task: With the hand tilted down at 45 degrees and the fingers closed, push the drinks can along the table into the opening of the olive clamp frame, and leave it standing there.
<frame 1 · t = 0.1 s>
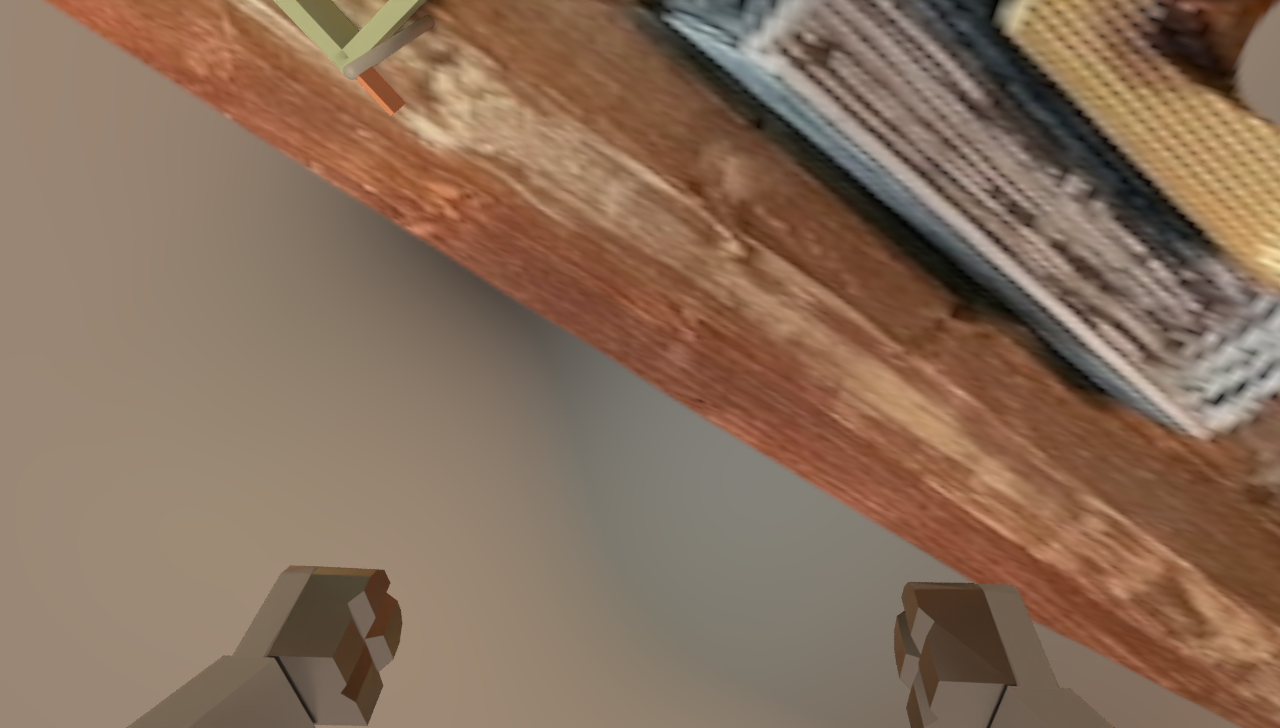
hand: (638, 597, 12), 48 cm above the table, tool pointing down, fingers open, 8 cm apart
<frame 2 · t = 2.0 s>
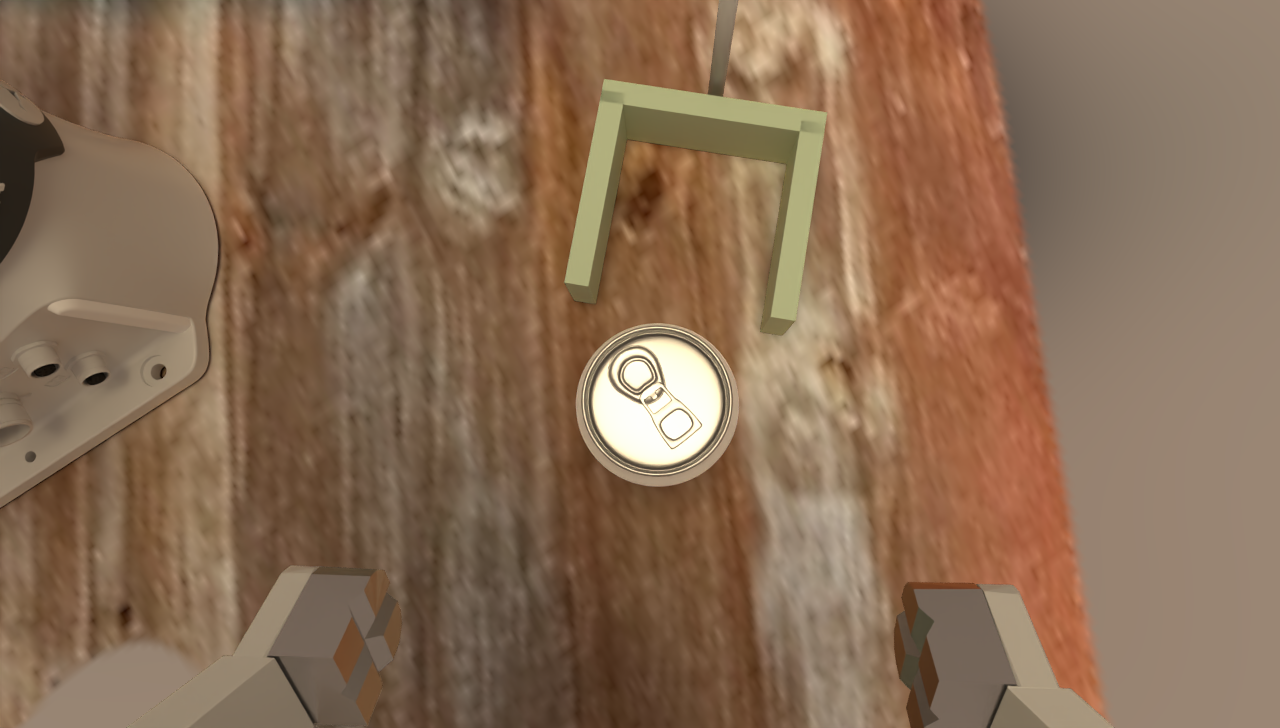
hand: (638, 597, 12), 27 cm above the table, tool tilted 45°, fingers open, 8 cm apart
olive clamp frame: (694, 219, 40), on the table
can: (658, 420, 39), on the table
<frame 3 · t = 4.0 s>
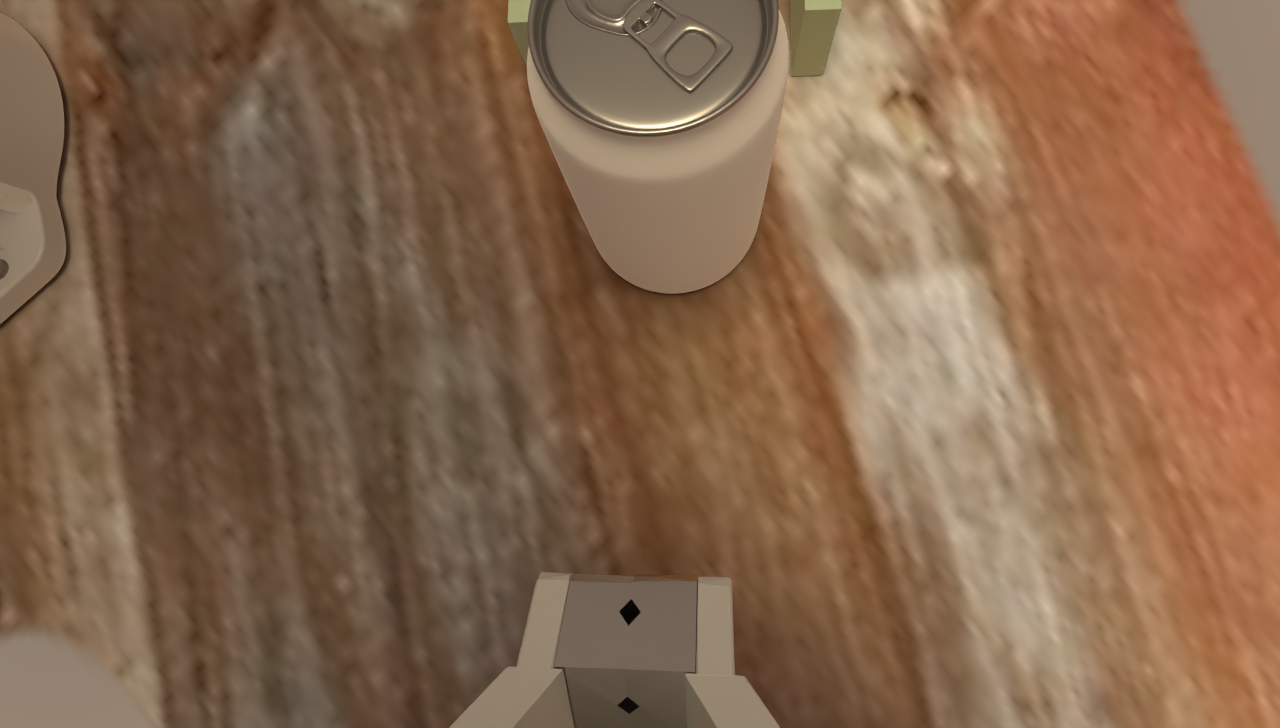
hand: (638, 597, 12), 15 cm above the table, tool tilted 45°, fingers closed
can: (674, 217, 28), on the table
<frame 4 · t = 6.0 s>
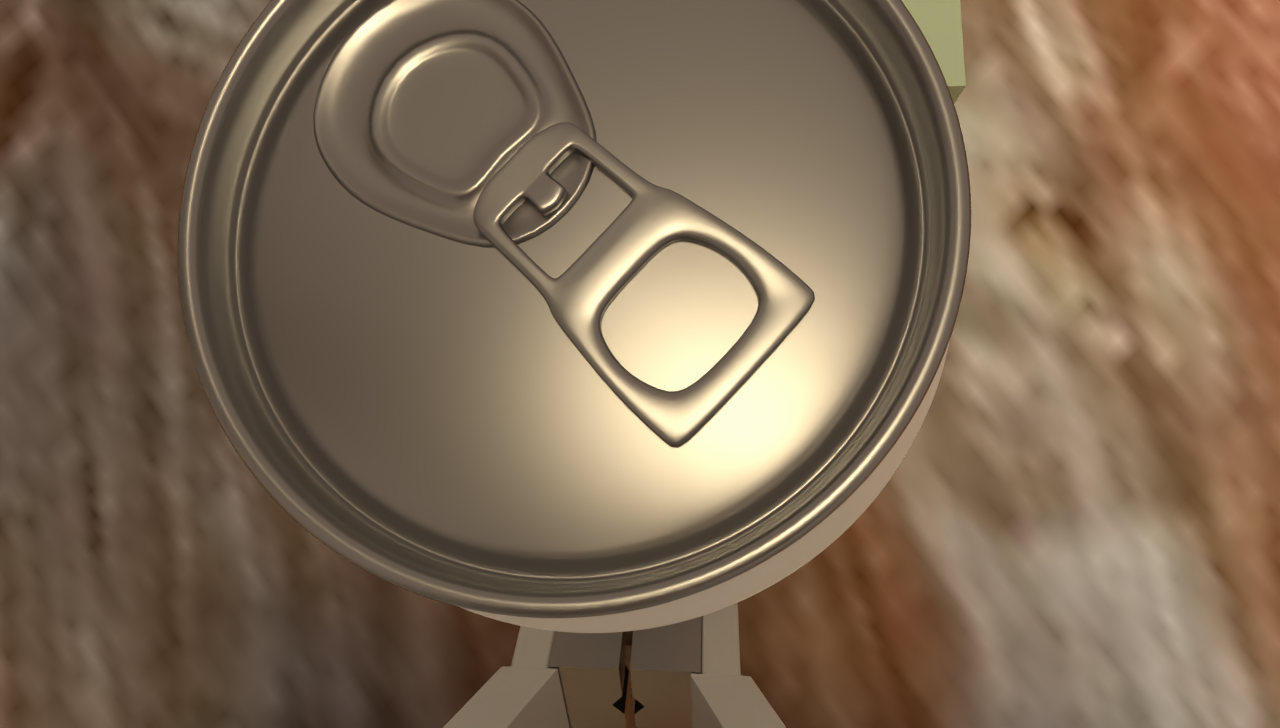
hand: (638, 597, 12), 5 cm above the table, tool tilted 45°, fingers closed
can: (662, 398, 17), on the table, touching gripper
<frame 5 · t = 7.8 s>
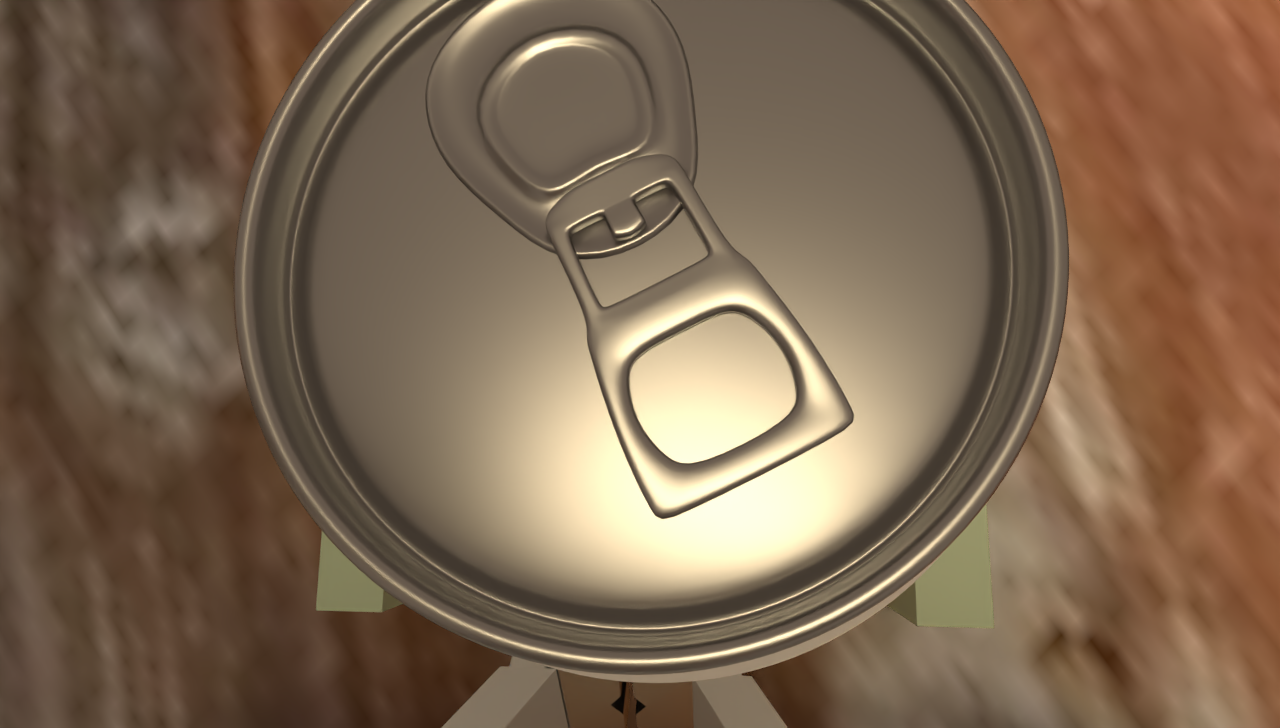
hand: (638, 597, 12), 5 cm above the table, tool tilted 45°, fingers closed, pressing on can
olive clamp frame: (658, 337, 17), on the table
can: (685, 425, 17), on the table, touching gripper
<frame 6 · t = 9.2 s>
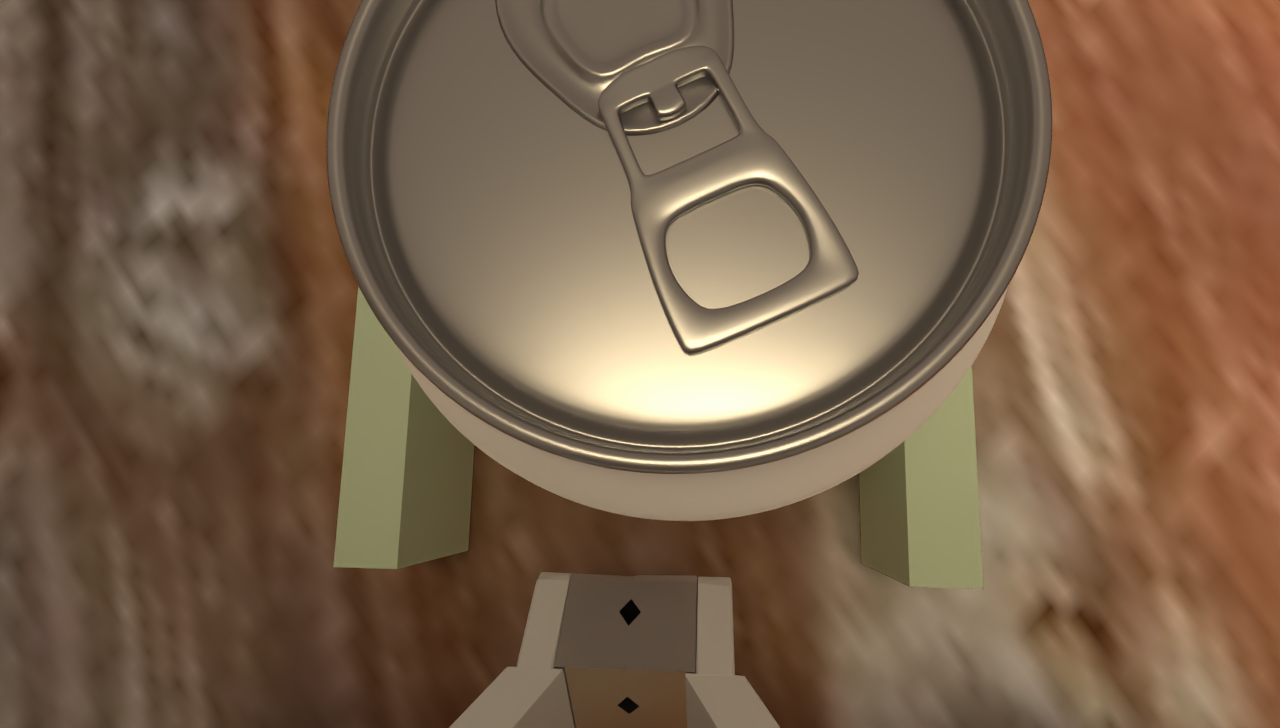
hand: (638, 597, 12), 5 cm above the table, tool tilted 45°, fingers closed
olive clamp frame: (663, 317, 18), on the table
can: (696, 365, 18), on the table
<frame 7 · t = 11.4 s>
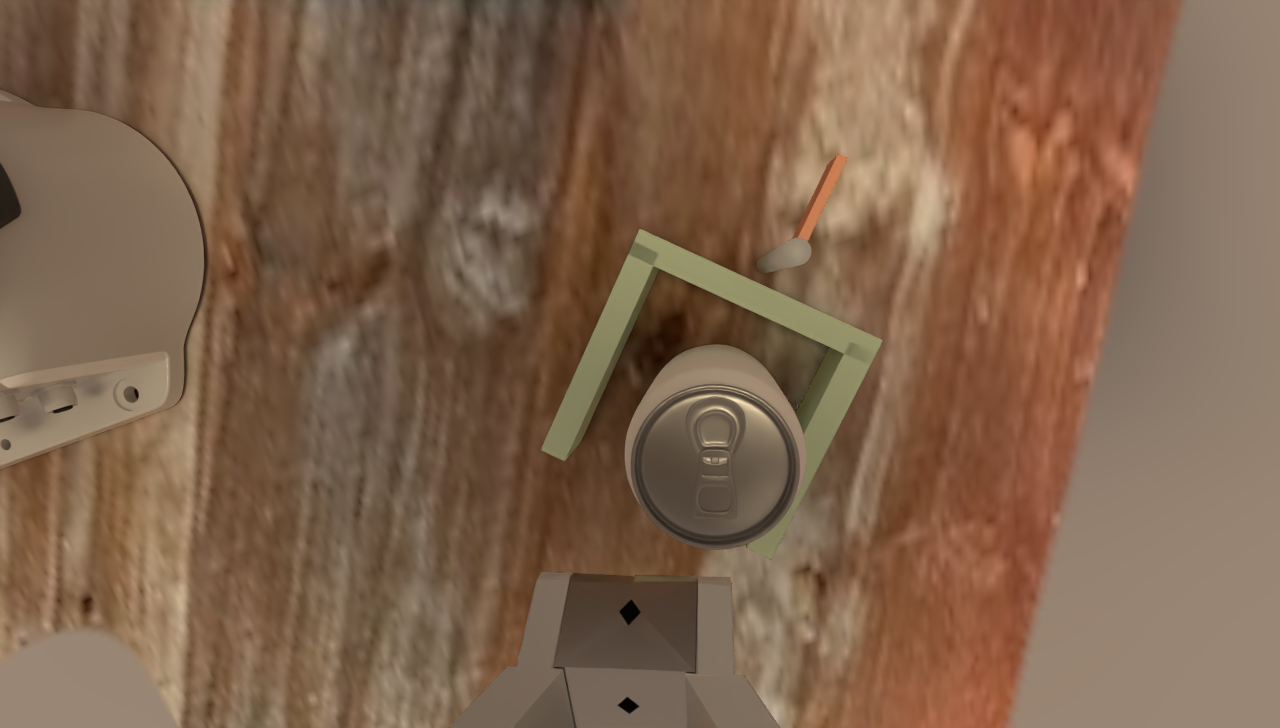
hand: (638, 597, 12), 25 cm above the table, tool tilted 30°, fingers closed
olive clamp frame: (708, 381, 36), on the table
can: (713, 407, 36), on the table
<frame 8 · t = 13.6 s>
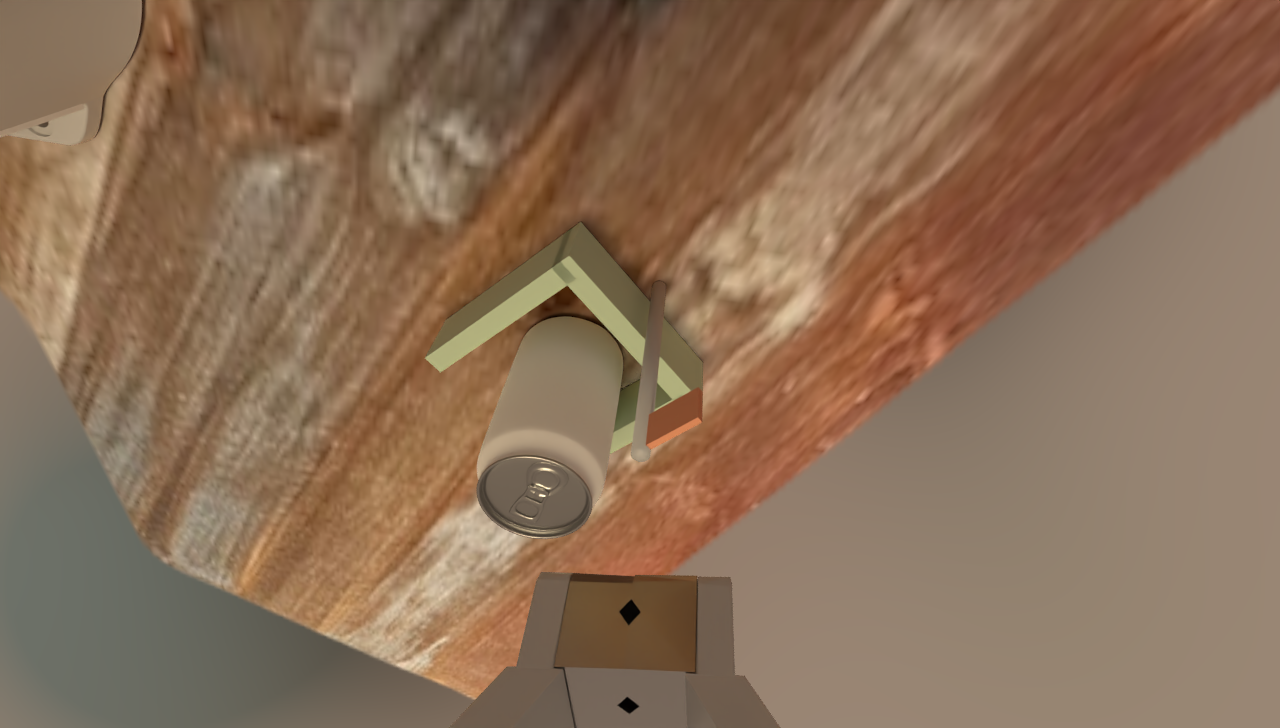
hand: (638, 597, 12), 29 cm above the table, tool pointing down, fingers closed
olive clamp frame: (577, 339, 44), on the table
can: (572, 355, 45), on the table
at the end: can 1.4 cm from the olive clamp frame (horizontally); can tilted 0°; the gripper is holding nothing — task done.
